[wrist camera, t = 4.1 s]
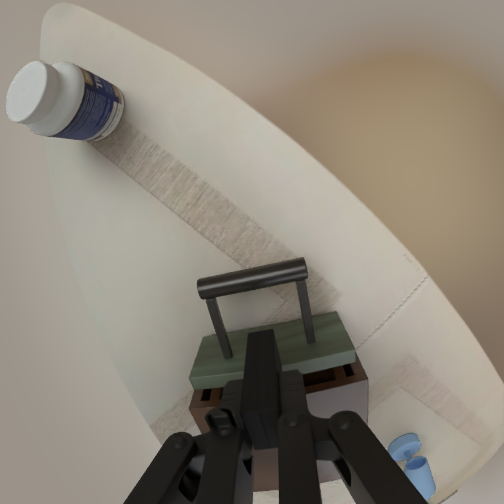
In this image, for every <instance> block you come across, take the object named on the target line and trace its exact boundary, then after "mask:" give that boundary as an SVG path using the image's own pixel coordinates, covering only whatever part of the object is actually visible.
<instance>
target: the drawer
mask: <svg viewBox="0 0 504 504" xmlns="http://www.w3.org/2000/svg"><path fill="white" fill-rule="evenodd" d="M307 278H308V272H307V267H306V263H305V259H304V258H303V257H301V258H296V259H292V260H287V261H282V262H278V263H273V264H268V265H264V266H259V267H254V268H249V269H245V270H240V271H235V272H230V273H225V274H220V275H216V276H211V277H206V278H201V279H198V280H197V289H198V293H199V296H200V298H201V299H202V300H204V299H206V303H207V307H208V310H209V313H210V316H211V319H212V322H213V325H214V329H215V332H216V335H212V336H205V337H203V339H202V342H201V344H200V347H199V350H198V353H197V356H196V359H195V362H194V365H193V367H192V370H191V373H190V376H189V380H190V382H191V384H192V386H193V388H194V390H200V389H210V388H212V392H211V396H210V400H221V399H222V393H223V388H224V386H225V385H226V383H227V382H228V381H230V380H237V379H243V375H244V365H245V356H246V346H247V336H248V333H251V332H257V331H262V330H268V329H273V330H274V334H275V338H276V343H277V347H278V351H279V356H280V360H281V364H282V372H284V371H289V370H295V369H298V370H299V372H300V373H301V374H302V376H303V381H304V387H306V386H311V385H316V384H320V383H325V382H329V381H333V380H337V379H341V378H345V377H346V374H345V372H344V369H343V367H342V365H346V364H350V363H354V362H356V355H355V348H354V346H353V344H352V341H351V339H350V337H349V335H348V333H347V331H346V329H345V327H344V325H343V323H342V321H341V320H340V318H339V316H338V314H337V312H336V311H334V312H330V313H326V314H322V315H317V316H313V317H312V316H311V310H310V304H309V299H308V293H307V287H306V282H305V279H307ZM294 281H296V286H297V291H298V296H299V302H300V307H301V313H302V318H303V319H299V320H294V321H290V322H285V323H280V324H275V325H270V326H264V327H259V328H254V329H248V330H242V331H237V332H231V333H226V330H225V327H224V323H223V320H222V317H221V314H220V310H219V307H218V304H217V300H216V297H220V296H226V295H231V294H236V293H241V292H246V291H251V290H256V289H261V288H266V287H271V286H276V285H280V284H285V283H290V282H294Z"/></svg>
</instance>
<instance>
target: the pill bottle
mask: <svg viewBox="0 0 504 504" xmlns="http://www.w3.org/2000/svg"><path fill="white" fill-rule="evenodd" d="M123 109H124V100H123V97H122V94H121V92H120V90H119V89H118V88H117V87H116V86H114V85H113V84H111V83H109V82H108V81H106V80H104V79H102V78H100V77H98V76H96V75H95V74H93V73H91V72H89V71H87V70H85V69H83V68H81V67H79V66H77V65H75V64H72V63H69V62H56V63H53V64H51V65H49V64H46V63H43V62H40V61H33V62H31V63H29V64H27V65H26V66H24V67H23V68H22V69H21V70H20V71H19V72H18V73H17V75H16V76H15V78H14V79H13V81H12V83H11V85H10V87H9V90H8V93H7V98H6V112H7V115H8V117H9V119H10V120H12V121H13V122H17V123H23V124H26V125H27V126H28V128H29V129H30V130H31V131H32V132H34V133H35V134H37V135H42V136H47V137H59V138H67V139H75V140H83V141H98V140H101V139H103V138H105V137H107V136H108V135H109V134H110V133H111V132H112V131H113V130H114V129H115V128H116V126H117V125H118V123H119V121H120V119H121V117H122V113H123Z"/></svg>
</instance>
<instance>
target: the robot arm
mask: <svg viewBox="0 0 504 504" xmlns="http://www.w3.org/2000/svg"><path fill="white" fill-rule="evenodd" d="M204 418H205V420H206V422H207V424H208V426H209V428H210V431H209V432H207V433H204V434H201V435H198V436H194V437H193V436H192V435H191V434H189V433H187V432H178V433H174V434H173V435H171V436H169V437H168V439H167V440H166V441H165V443H164V444H163V446H162V447H161V449H160V450H159V452H158V453H157V455H156V456H155V458H154V459H153V461H152V462H151V464H150V465H149V467H148V468H147V470H146V471H145V473H144V474H143V476H142V477H141V479H140V480H139V481H138V483H137V484H136V486H135V487H134V489H133V490H132V492H131V493H130V495H129V496H128V498H127V499H126V500H125V502H124V503H123V504H253V482H254V456H253V454H252V445H253V448H254V450H264V449H272V448H278V473H279V504H322V497H321V489H320V482H319V475H318V468H317V461H316V460H322V461H332V463H333V464H334V466H335V468H336V470H337V471H338V473H339V475H340V477H341V478H342V480H343V482H344V484H345V485H346V487H347V489H348V491H349V492H350V494H351V496H352V497H353V499H354V501H355V503H356V504H428V502H427V501H426V500H425V499H424V497H423V496H422V495H421V494H420V492H419V491H418V490H417V489H416V487H415V486H414V485H413V483H412V482H411V481H410V480H409V478H408V477H407V476H406V475H405V473H404V472H403V471H402V470H401V468H400V467H399V466H398V464H397V463H396V462H395V461H394V459H393V458H392V457H391V455H390V454H389V453H388V452H387V450H386V449H385V448H384V447H383V445H382V444H381V443H380V441H379V440H378V439H377V438H376V436H375V435H374V434H373V432H372V431H371V430H370V428H369V427H368V426H367V425H366V423H365V422H364V421H363V419H362V418H361V417H360V416H359V415H358V414H357V413H356V412H353V411H350V410H343V411H340V412H337V413H335V414H334V415H332V416H331V417H330V418H319V417H316V416H314V415H312V414H311V413H310V412H309V410H308V404H307V398H306V392H305V387H304V381H303V376H302V374H301V373H300V372H299V370H298V369H295V370H289V371H284V372H282V364H281V360H280V356H279V351H278V347H277V343H276V338H275V334H274V330H273V329H268V330H262V331H257V332H251V333H248V336H247V346H246V356H245V365H244V375H243V379H237V380H230V381H228V382H227V383H226V385H225V386H224V388H223V393H222V399H221V404H220V406H218V407H215V408H213V409H210V410H209V411H208V412H207V413H206V415H205V417H204Z"/></svg>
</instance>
